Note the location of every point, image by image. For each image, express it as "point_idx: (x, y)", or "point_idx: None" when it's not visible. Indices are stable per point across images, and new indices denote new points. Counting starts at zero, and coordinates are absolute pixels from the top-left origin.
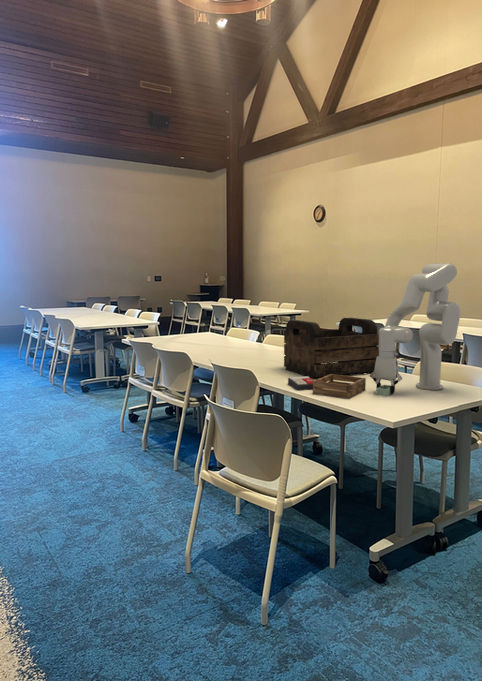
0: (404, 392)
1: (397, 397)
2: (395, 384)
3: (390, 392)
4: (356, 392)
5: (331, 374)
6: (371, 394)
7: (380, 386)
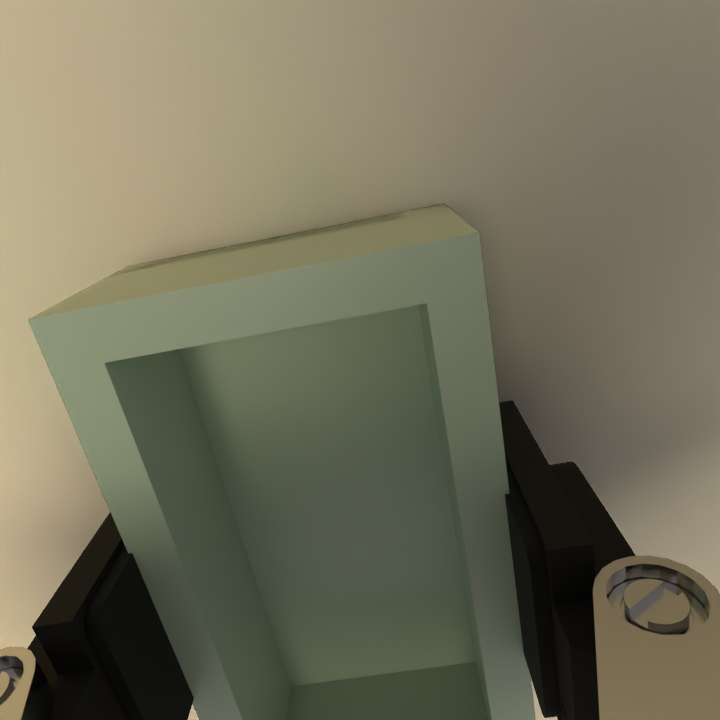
0: (707, 11)
1: None
2: (704, 620)
3: None
4: None
5: None
6: None
7: (176, 622)
